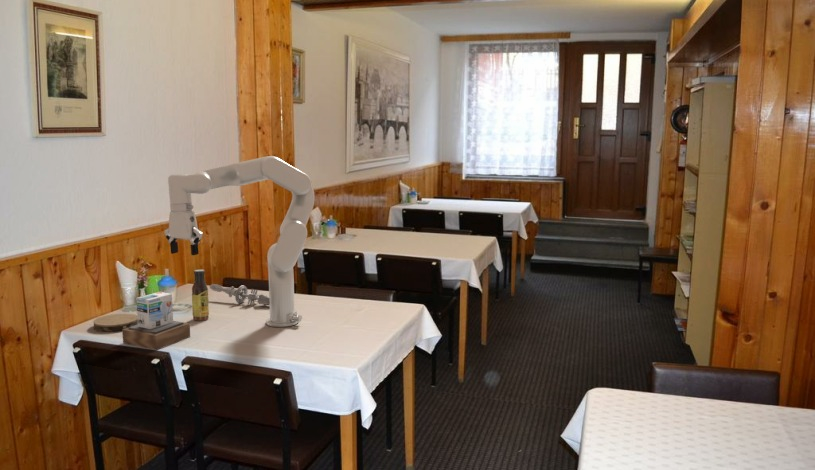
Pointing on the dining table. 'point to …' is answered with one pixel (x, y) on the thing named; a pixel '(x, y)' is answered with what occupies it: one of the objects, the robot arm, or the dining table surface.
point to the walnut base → (156, 335)
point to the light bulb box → (154, 310)
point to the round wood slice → (115, 322)
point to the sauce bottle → (200, 297)
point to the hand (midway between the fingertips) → (184, 253)
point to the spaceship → (242, 294)
